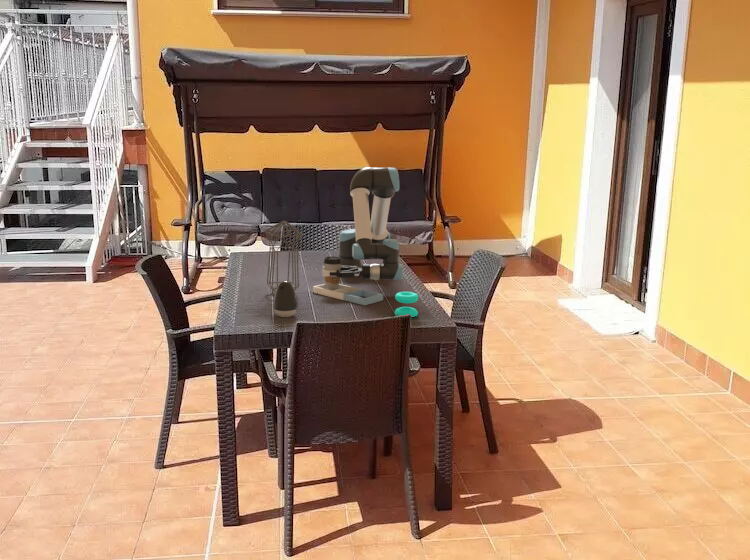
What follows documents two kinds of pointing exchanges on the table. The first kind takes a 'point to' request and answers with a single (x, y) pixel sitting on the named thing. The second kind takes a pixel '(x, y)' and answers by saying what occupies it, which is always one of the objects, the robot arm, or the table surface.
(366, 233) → the robot arm
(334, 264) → the coffee cup
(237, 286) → the table surface
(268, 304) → the table surface
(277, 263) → the geometric lantern
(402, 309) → the donuts
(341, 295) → the gap frame
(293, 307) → the pump dispenser
